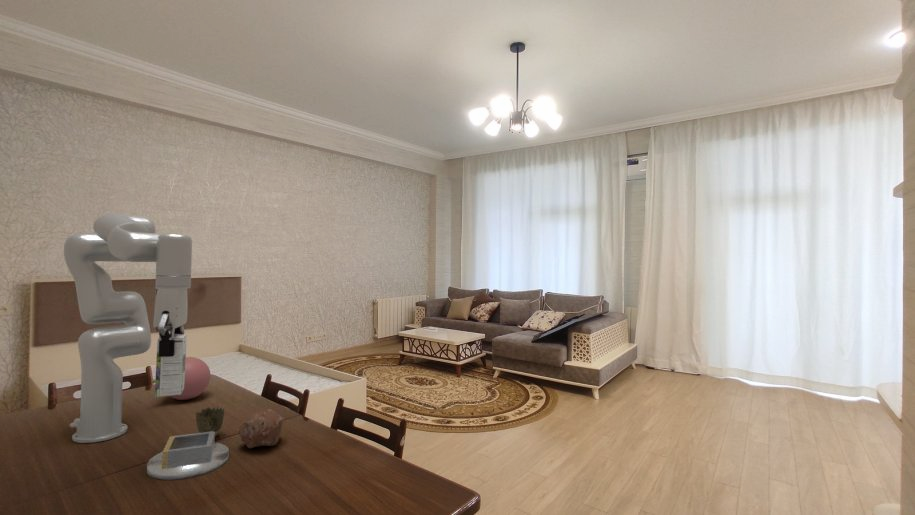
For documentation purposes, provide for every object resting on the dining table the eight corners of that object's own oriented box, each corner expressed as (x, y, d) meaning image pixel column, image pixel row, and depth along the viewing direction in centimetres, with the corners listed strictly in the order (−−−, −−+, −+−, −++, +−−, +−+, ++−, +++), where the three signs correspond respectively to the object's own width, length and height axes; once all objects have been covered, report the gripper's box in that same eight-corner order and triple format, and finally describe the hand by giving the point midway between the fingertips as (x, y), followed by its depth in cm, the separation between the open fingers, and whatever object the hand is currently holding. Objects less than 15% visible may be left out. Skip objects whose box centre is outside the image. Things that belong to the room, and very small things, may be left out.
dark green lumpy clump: (210, 444, 125) (211, 416, 125) (188, 441, 126) (189, 413, 126) (229, 434, 132) (230, 407, 132) (208, 431, 133) (209, 405, 133)
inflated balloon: (137, 404, 155) (139, 361, 156) (193, 390, 173) (194, 351, 173) (163, 412, 149) (165, 367, 149) (218, 396, 166) (220, 356, 167)
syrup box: (158, 391, 112) (159, 334, 112) (185, 388, 115) (186, 333, 115) (154, 397, 107) (156, 338, 107) (182, 394, 110) (184, 336, 110)
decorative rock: (268, 456, 118) (270, 419, 118) (228, 454, 119) (229, 417, 119) (290, 436, 132) (291, 403, 132) (253, 434, 132) (254, 401, 132)
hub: (138, 485, 102) (139, 461, 102) (155, 453, 118) (155, 433, 118) (226, 472, 109) (226, 449, 109) (230, 443, 125) (231, 424, 125)
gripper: (168, 280, 119) (167, 347, 119) (142, 284, 102) (140, 361, 102) (200, 281, 121) (198, 346, 121) (178, 284, 104) (176, 360, 104)
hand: (171, 352), depth 111 cm, fingers closed on syrup box, 6 cm apart
